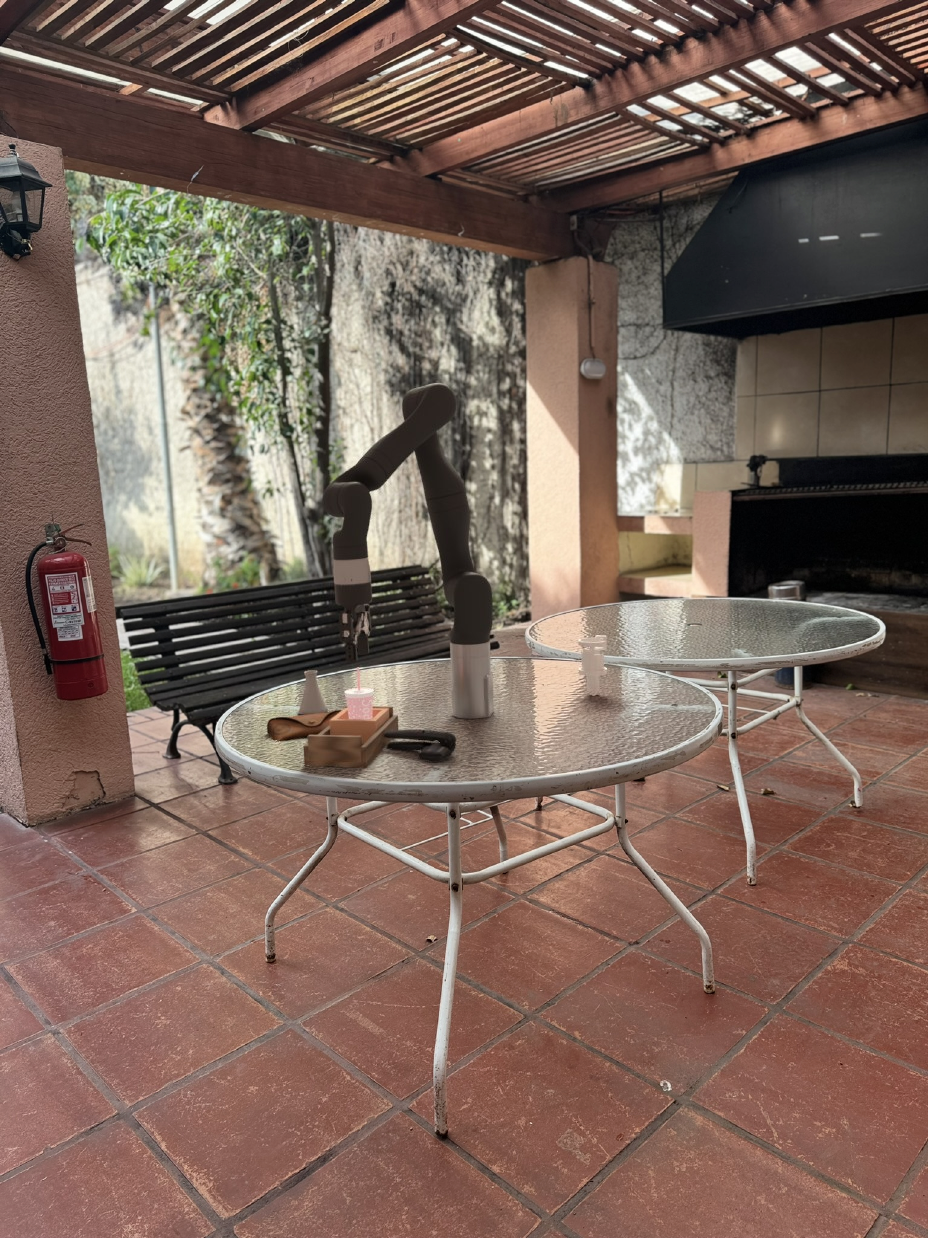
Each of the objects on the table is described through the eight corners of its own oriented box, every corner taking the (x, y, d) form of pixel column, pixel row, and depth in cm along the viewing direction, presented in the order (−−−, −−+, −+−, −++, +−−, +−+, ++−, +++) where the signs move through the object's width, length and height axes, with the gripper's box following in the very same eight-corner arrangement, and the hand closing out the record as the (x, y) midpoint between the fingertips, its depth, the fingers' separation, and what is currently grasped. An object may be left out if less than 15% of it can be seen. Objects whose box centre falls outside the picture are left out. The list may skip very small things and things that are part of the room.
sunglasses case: (274, 742, 190) (269, 712, 192) (269, 751, 196) (265, 722, 198) (356, 731, 197) (350, 702, 199) (349, 740, 203) (343, 712, 205)
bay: (398, 733, 194) (397, 706, 193) (366, 767, 171) (365, 737, 170) (343, 732, 196) (342, 705, 195) (304, 766, 173) (302, 736, 172)
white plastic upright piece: (607, 698, 219) (606, 637, 217) (578, 697, 221) (577, 638, 218) (607, 691, 226) (607, 633, 224) (579, 691, 227) (578, 633, 225)
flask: (321, 716, 211) (319, 675, 210) (293, 715, 213) (290, 674, 211) (332, 708, 218) (330, 668, 217) (304, 708, 220) (302, 668, 218)
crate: (390, 730, 192) (389, 708, 192) (376, 744, 182) (375, 721, 181) (346, 729, 194) (345, 707, 193) (330, 743, 184) (329, 720, 183)
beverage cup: (351, 738, 184) (348, 671, 182) (343, 731, 190) (339, 666, 188) (379, 734, 187) (376, 668, 185) (370, 727, 192) (367, 663, 190)
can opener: (465, 757, 176) (464, 729, 175) (442, 766, 171) (441, 738, 170) (399, 743, 187) (397, 717, 186) (375, 752, 182) (374, 725, 181)
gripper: (360, 584, 175) (366, 665, 178) (379, 576, 189) (384, 651, 192) (323, 585, 177) (329, 665, 179) (345, 577, 191) (351, 651, 193)
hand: (358, 658), depth 186 cm, fingers open, 8 cm apart
